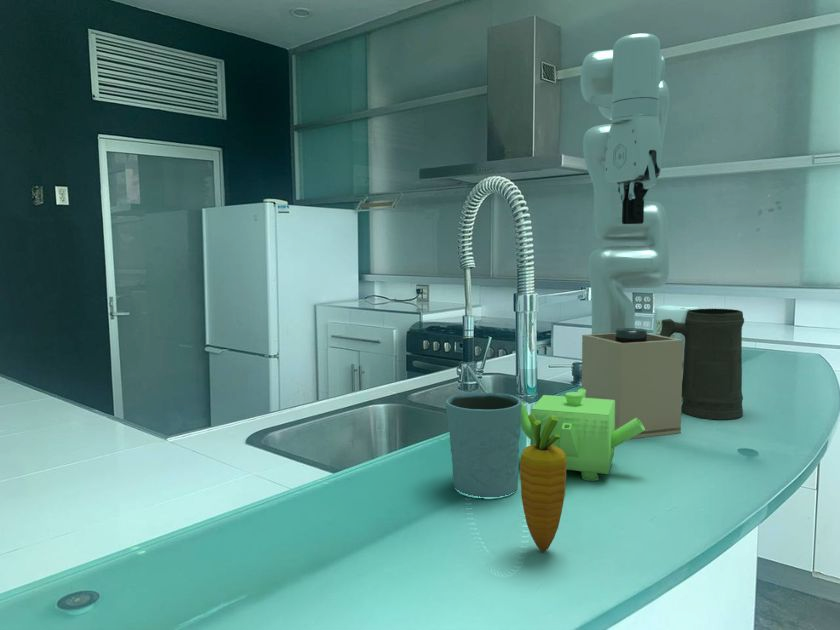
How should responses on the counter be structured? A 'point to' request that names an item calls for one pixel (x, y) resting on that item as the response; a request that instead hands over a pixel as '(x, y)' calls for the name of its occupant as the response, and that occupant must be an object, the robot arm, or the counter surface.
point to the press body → (636, 379)
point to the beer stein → (711, 362)
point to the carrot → (543, 483)
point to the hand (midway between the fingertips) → (632, 223)
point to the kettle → (582, 430)
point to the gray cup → (484, 442)
